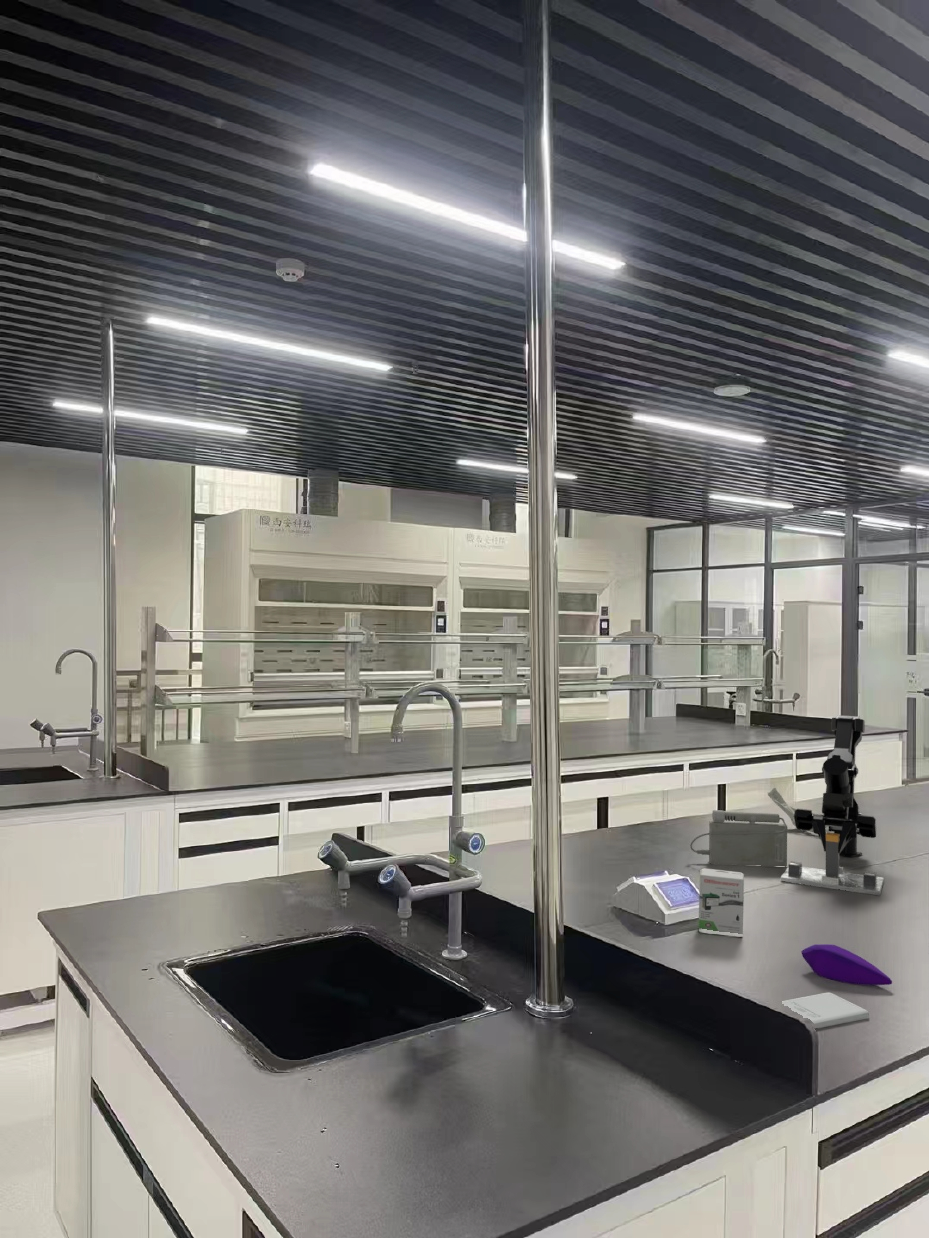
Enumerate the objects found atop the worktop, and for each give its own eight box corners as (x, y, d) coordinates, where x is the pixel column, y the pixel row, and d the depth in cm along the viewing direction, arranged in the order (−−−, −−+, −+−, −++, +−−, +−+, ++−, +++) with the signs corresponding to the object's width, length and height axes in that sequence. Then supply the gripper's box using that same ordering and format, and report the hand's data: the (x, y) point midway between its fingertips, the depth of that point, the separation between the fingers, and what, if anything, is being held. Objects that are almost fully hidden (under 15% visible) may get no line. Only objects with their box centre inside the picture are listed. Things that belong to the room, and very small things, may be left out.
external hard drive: (868, 1021, 132) (807, 1033, 128) (827, 1001, 140) (768, 1011, 135) (869, 1010, 132) (807, 1022, 128) (827, 990, 140) (768, 1001, 135)
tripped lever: (827, 873, 213) (827, 832, 214) (839, 875, 212) (839, 833, 212) (825, 876, 210) (825, 834, 211) (837, 878, 209) (838, 836, 209)
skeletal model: (841, 840, 257) (779, 777, 268) (819, 860, 261) (758, 797, 272) (852, 830, 271) (792, 771, 281) (831, 849, 274) (772, 789, 285)
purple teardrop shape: (890, 972, 142) (798, 941, 151) (887, 1001, 142) (795, 968, 151) (897, 964, 145) (806, 934, 155) (894, 992, 145) (803, 961, 155)
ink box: (697, 933, 170) (698, 873, 171) (698, 925, 175) (699, 867, 175) (743, 938, 168) (744, 877, 168) (743, 930, 172) (743, 871, 173)
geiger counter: (784, 811, 228) (688, 807, 231) (790, 815, 222) (692, 811, 224) (783, 863, 228) (688, 859, 230) (790, 869, 221) (692, 865, 224)
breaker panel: (789, 868, 222) (789, 854, 222) (883, 881, 212) (883, 866, 212) (780, 881, 210) (780, 866, 210) (879, 895, 199) (880, 879, 199)
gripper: (795, 776, 220) (788, 827, 210) (875, 783, 211) (872, 837, 201) (799, 802, 227) (793, 853, 217) (877, 810, 217) (874, 863, 207)
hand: (831, 851), depth 210 cm, fingers closed on tripped lever, 3 cm apart
